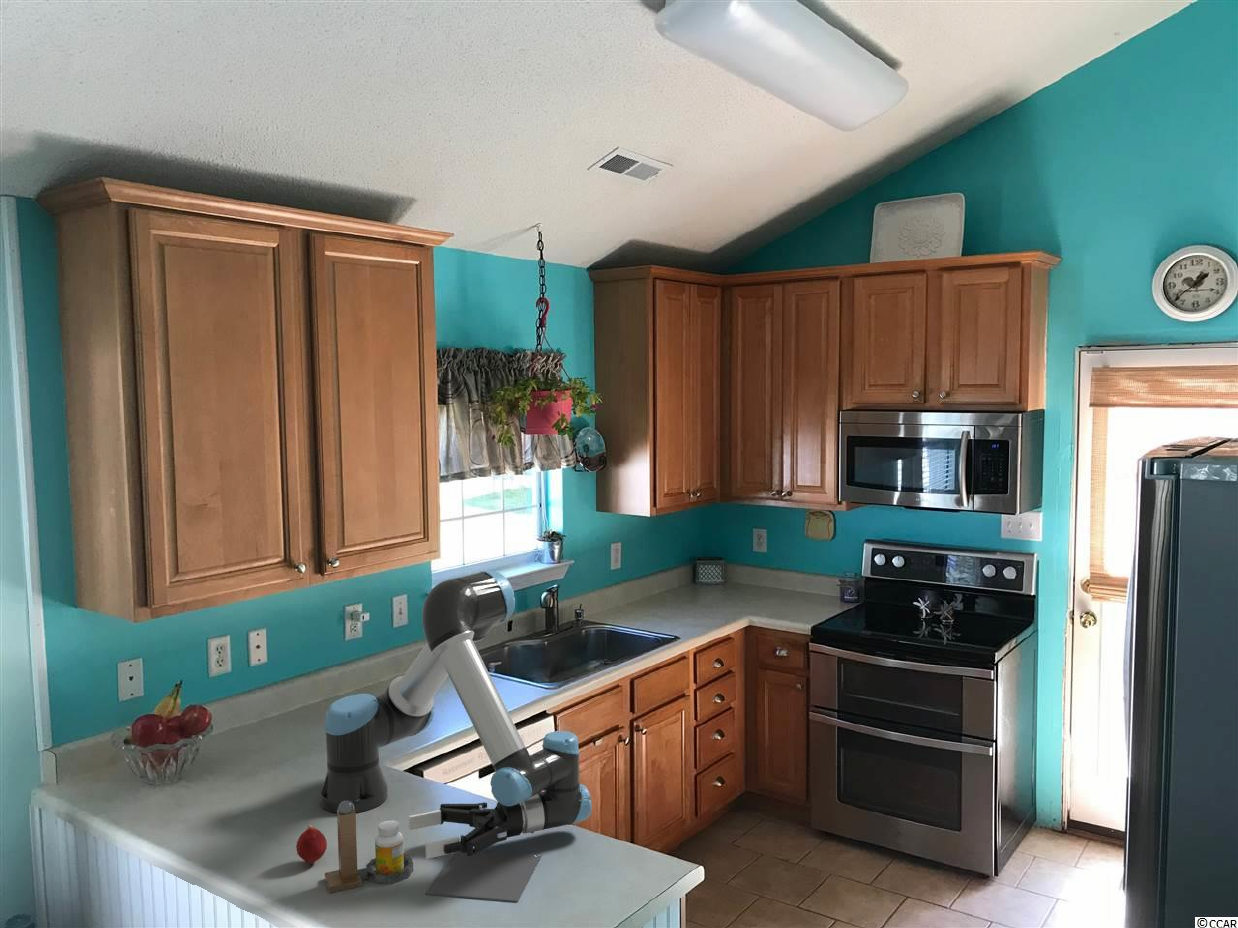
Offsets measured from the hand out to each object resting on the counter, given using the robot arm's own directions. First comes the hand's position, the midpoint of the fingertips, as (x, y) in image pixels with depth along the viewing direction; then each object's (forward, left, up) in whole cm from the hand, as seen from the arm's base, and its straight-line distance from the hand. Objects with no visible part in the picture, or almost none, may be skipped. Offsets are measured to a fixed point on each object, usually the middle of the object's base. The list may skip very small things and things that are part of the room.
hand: (417, 836), depth 193 cm
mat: (+1, +14, -6) cm, 16 cm away
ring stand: (+5, -8, -6) cm, 12 cm away
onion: (+2, -22, -7) cm, 23 cm away
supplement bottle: (+3, -5, -7) cm, 9 cm away
